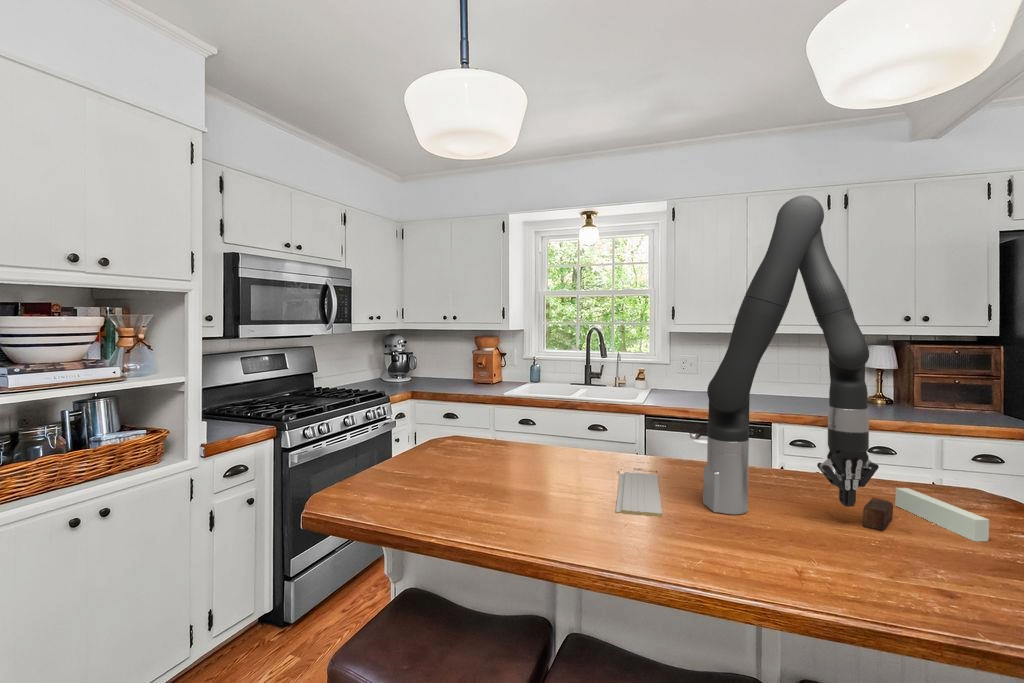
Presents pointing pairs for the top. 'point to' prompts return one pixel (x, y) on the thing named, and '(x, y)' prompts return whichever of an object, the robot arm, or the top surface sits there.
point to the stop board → (943, 514)
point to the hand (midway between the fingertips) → (847, 505)
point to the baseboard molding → (639, 494)
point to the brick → (877, 514)
